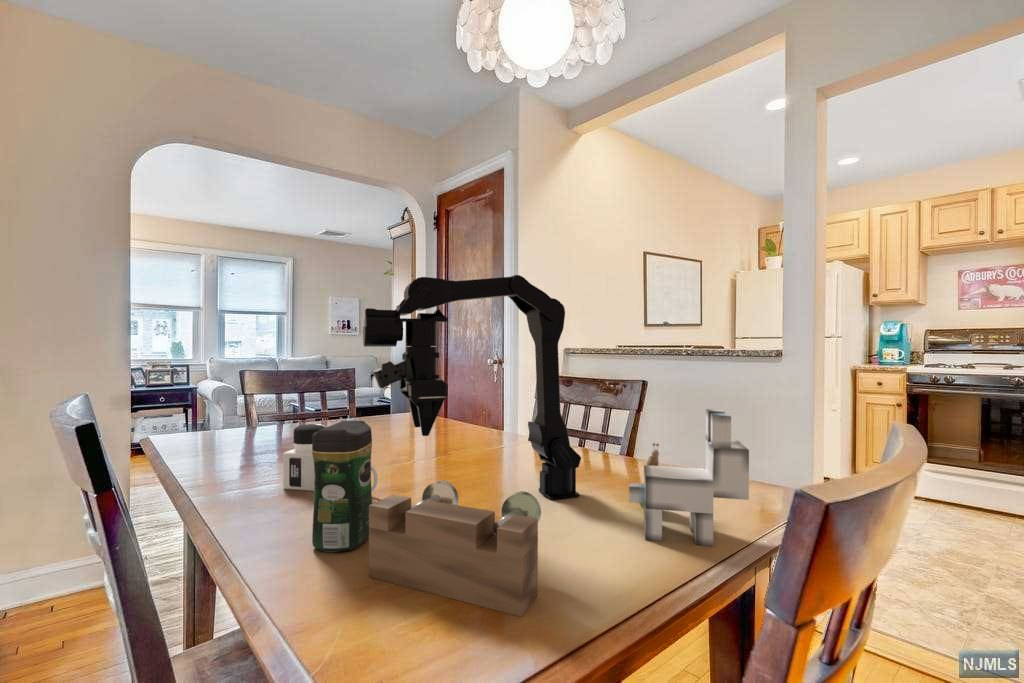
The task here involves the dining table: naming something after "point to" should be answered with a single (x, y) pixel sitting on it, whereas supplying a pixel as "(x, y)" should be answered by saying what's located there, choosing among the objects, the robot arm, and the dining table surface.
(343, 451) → the coffee jar
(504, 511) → the knob sage
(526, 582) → the block
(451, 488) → the silver rounded piece
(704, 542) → the toy llama
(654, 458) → the snail figurine
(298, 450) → the container
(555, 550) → the dining table surface
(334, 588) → the dining table surface
